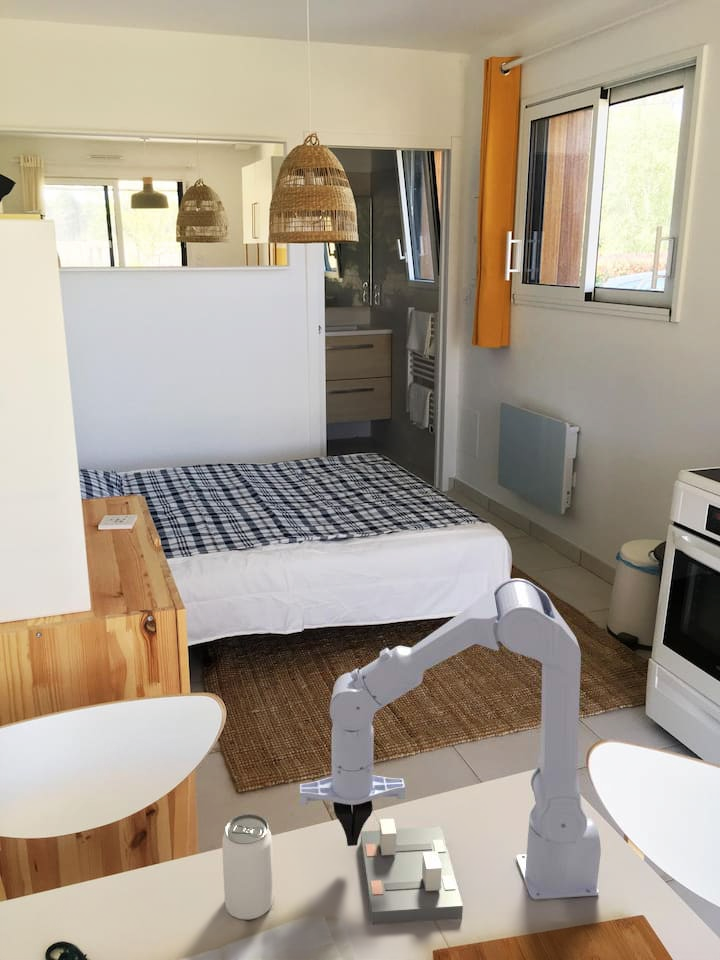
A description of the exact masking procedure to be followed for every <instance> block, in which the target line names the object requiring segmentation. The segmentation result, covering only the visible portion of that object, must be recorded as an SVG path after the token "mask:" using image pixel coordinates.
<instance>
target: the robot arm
mask: <svg viewBox="0 0 720 960" xmlns="http://www.w3.org/2000/svg"><path fill="white" fill-rule="evenodd" d="M499 642H500V643H501V644H502V645H503V646H504V647H505V648H506V649H508V650H509V651H511V652H512V653H514V654H518V655H521V656H524V657H527V658H529V659H533V660H536V661H538V662H539V663H541V705H540V706H541V708H540V709H541V712H540V714H541V715H540V716H541V717H540V718H541V720H540V721H541V722H540V754H539V755H538V757H537V760H538V762H537V766H536V769H535V770H534V772H533V773H532V775H531V777H530V778H531V779H530V786H531V789H532V792H533V796H534V801H535V804H534V806H533V808H532V810H531V811H530V812H529V813H530V814H529V820H528V831H527V833H528V834H527V842H526V843H527V844H526V854H517V855H516V856H515V857H516V859H515V860H516V862H517V865H518V867H519V871H520V872H521V875H522V878H523V880H524V884H525V886H526V888H527V890H528V894H529V896H530V898H531V899H532V900H546V899H547V900H548V899H561V898H563V899H564V898H574V897H575V898H576V897H591V896H592V897H593V896H594V897H595V896H598V895H599V893H600V891H599V889H598V881H599V872H600V871H599V870H600V864H601V862H600V861H601V855H602V854H601V851H602V848H601V847H602V846H601V840H600V835H599V831H598V827H597V825H596V824H595V821H594V820H593V819H592V818H591V817H587V816H586V813H585V812H584V807H583V804H582V800H581V799H582V796H581V788H580V781H579V771H578V761H579V760H578V758H579V756H578V755H579V753H578V752H579V727H580V726H579V725H580V723H579V722H580V700H581V699H580V696H581V695H580V693H581V692H580V691H581V689H580V688H581V687H580V686H581V664H582V659H581V658H582V653H581V649H580V648H581V647H580V646H579V643H578V640H577V637H576V636H575V634H574V633H573V631H572V630H571V628H570V627H569V625H568V624H567V623H566V621H565V620H564V618H563V617H562V615H561V614H560V613H559V611H558V610H557V609H556V607H555V605H554V604H553V602H552V601H551V598H550V597H549V595H548V594H547V592H545V591H544V590H543V589H541V588H540V587H539V586H537V585H536V584H534V583H532V582H530V581H529V580H526V579H524V578H519V577H518V578H509V579H507V580H504V581H503V582H501V583H500V584H499V585H498V586H497V587H496V589H495V590H494V589H493V588H492V589H489V590H488V591H485V592H483V593H482V594H481V595H480V596H479V597H477V598H476V600H475V601H474V602H472V603H471V605H469V606H468V607H467V608H465V609H464V610H463V611H461V612H460V613H459V614H457V615H455V616H454V617H453V618H451V619H450V620H449V621H447V622H446V623H444V624H443V625H442V626H440V627H438V628H437V629H436V630H434V631H433V632H432V633H430V634H429V635H427V636H426V637H425V638H423V639H421V640H420V641H419V642H418V643H416V644H415V645H413V646H412V647H410V646H409V647H408V646H403V645H398V646H395V647H394V648H392V649H389V648H388V647H385V648H384V649H382V650H381V651H379V657H378V658H376V659H374V660H373V661H371V662H370V663H368V664H367V665H366V666H363V667H361V668H360V669H359V668H355V669H354V670H352V671H350V672H346V673H344V674H342V675H340V676H339V677H338V678H337V679H336V681H335V683H334V684H333V685H334V686H333V687H332V690H333V691H332V694H331V700H330V703H329V716H330V719H331V723H332V727H331V776H330V777H326V778H322V779H319V780H316V781H312V782H311V781H310V782H306V783H300V784H299V804H300V805H301V806H302V805H308V804H309V802H315V801H327V802H332V803H333V812H334V815H335V817H336V819H337V820H338V822H339V823H340V825H341V828H342V829H343V831H344V835H345V838H346V843H347V844H346V845H347V847H355V846H358V842H359V838H360V836H361V832H362V829H363V827H364V825H365V824H366V822H367V821H368V819H369V818H370V817H371V815H372V812H373V800H377V799H380V798H388V797H390V798H392V797H396V799H397V800H405V799H406V798H405V797H406V787H405V781H404V778H396V777H395V778H393V777H386V776H379V775H374V745H375V744H374V741H375V740H374V734H375V733H374V731H375V729H374V725H373V720H374V717H375V714H376V712H378V711H380V709H382V708H384V707H385V706H388V705H389V704H391V703H392V702H394V701H395V700H397V699H399V698H400V697H401V696H402V697H403V695H405V694H407V693H408V692H411V691H412V690H413V689H415V688H416V687H418V686H420V685H421V683H422V682H423V678H424V673H425V671H427V670H429V669H431V668H432V667H435V666H436V665H438V664H440V663H442V662H443V661H445V660H447V659H449V658H451V657H453V656H454V655H457V654H458V653H460V652H462V651H464V650H466V649H468V648H470V647H471V646H473V645H478V646H482V647H484V648H487V649H491V650H494V651H500V647H499Z"/></svg>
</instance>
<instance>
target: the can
mask: <svg viewBox="0 0 720 960" xmlns="http://www.w3.org/2000/svg"><path fill="white" fill-rule="evenodd" d="M221 843H222V844H221V846H222V867H223V869H222V871H223V872H222V873H223V889H224V890H223V891H224V893H223V894H224V904H225V909H226V911H227V912H228V913H229V914H230V915H231V916H232V917H233V918H234V917H235V918H236V919H238V920H242V921H243V920H244V921H251V920H256V919H258V918H260V917H262V916H263V915H265V914H266V913H267V912H268V911H269V910H270V909H271V907H272V905H273V902H274V868H273V867H274V863H273V862H274V860H273V836H272V833H271V829H270V828H269V823H268V821H267V820H266V819H265V818H264V817H263V816H260V815H258V814H254V813H244V814H239V815H237V816H235V817H233V818H232V819H230V820H228V822H227V824H226V825H225V828H224V834H223V836H222V842H221Z"/></svg>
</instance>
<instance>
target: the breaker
mask: <svg viewBox="0 0 720 960" xmlns="http://www.w3.org/2000/svg"><path fill="white" fill-rule="evenodd" d="M441 871H442V867H441V863H440V860H439V856H438V852H423V862H422V876H423V881H424V885H425V890H426V891H433V890H441Z"/></svg>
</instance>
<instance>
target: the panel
mask: <svg viewBox="0 0 720 960" xmlns="http://www.w3.org/2000/svg"><path fill="white" fill-rule="evenodd" d="M379 832H380V829H379V830H366V831H362V830H361V833H360V849H361V856H362V863H363V869H364V877H365V884H366V892H367V898H368V899H367V900H368V906H369V915H370V921H371V925H381V924H382V925H383V924H393V923H395V924H397V923H408V922H424V921H436V920H439V921H440V920H451V919H452V920H453V919H454V920H455V919H462V918H463V911H464V906H463V905H464V904H463V901H462V898H461V894H460V891H459V887H458V884H457V879H456V876H455V872H454V869H453V865H452V861H451V858H450V857H451V856H450V855H449V851H448V847H447V843H446V840H445V839H446V838H445V836H444V833H443V829H442V826H434V827H417V828H416V827H415V828H399V829H398V828H397V829H396V854H395V855H382V853H381V847H380V841H379ZM423 852H438V856H439V860H440V863H441V867H442V871H441V890H433V891H426V890H425V885H424V881H423V876H422V862H423Z"/></svg>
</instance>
